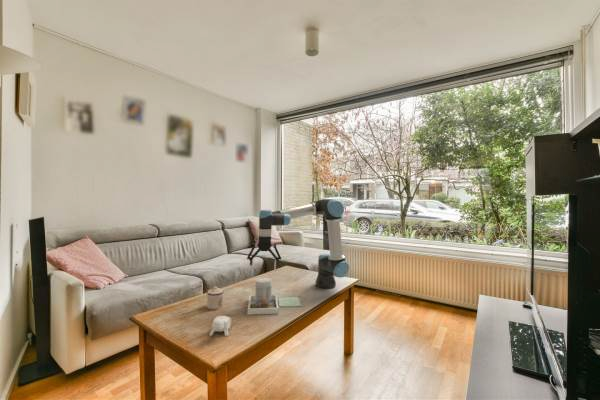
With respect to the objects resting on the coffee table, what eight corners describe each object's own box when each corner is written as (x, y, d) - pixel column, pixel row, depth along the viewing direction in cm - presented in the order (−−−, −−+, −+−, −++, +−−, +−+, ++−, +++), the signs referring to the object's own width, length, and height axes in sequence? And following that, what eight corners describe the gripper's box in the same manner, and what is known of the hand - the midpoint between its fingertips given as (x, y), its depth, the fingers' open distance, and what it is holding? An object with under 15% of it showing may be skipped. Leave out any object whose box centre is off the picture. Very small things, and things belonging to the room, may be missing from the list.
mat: (298, 298, 176) (298, 297, 176) (301, 306, 163) (301, 305, 163) (278, 298, 175) (278, 297, 175) (279, 307, 162) (279, 306, 162)
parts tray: (276, 299, 173) (276, 294, 173) (278, 313, 153) (278, 308, 153) (249, 299, 171) (249, 295, 171) (247, 314, 150) (247, 309, 150)
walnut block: (266, 308, 159) (266, 300, 159) (268, 312, 154) (268, 303, 154) (258, 309, 158) (258, 300, 158) (259, 313, 153) (259, 304, 153)
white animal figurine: (214, 333, 135) (205, 337, 121) (216, 315, 138) (207, 316, 124) (231, 334, 135) (224, 337, 121) (233, 315, 138) (226, 317, 124)
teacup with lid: (222, 309, 156) (222, 289, 156) (205, 310, 155) (205, 289, 154) (224, 301, 168) (224, 282, 168) (208, 301, 166) (209, 282, 166)
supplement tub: (269, 300, 172) (269, 277, 171) (272, 306, 163) (273, 281, 162) (253, 302, 168) (254, 278, 168) (256, 308, 159) (257, 283, 159)
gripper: (285, 235, 170) (283, 269, 170) (244, 234, 167) (243, 269, 167) (286, 237, 163) (284, 272, 163) (243, 236, 159) (242, 272, 160)
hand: (263, 270), depth 165 cm, fingers open, 13 cm apart
